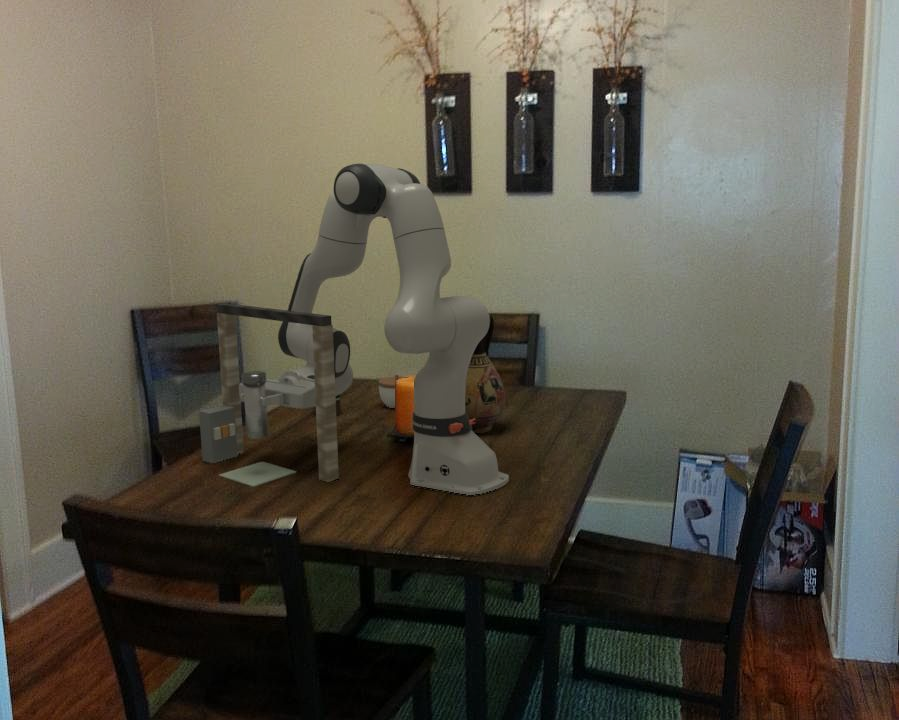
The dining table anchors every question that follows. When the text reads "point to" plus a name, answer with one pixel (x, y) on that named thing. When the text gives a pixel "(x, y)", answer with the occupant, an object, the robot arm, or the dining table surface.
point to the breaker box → (218, 433)
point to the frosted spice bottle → (255, 404)
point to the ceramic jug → (483, 387)
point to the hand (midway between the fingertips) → (252, 400)
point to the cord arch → (321, 372)
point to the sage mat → (257, 474)
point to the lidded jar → (388, 390)
